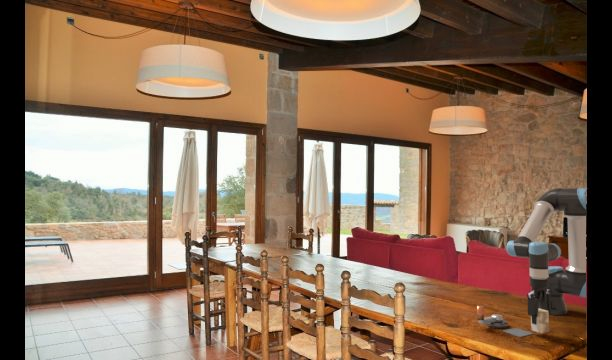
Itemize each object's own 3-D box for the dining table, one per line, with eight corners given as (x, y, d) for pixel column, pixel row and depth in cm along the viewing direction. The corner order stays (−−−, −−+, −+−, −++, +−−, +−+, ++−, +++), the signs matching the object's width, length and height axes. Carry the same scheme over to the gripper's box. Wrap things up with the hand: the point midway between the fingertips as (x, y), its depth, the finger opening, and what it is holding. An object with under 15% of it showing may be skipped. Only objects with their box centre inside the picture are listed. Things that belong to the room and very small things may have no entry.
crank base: (495, 321, 215) (495, 317, 215) (511, 326, 207) (511, 322, 207) (482, 324, 211) (482, 320, 211) (498, 329, 203) (498, 325, 203)
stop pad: (515, 328, 205) (515, 327, 205) (533, 334, 197) (533, 333, 197) (502, 331, 201) (502, 330, 201) (519, 337, 193) (519, 336, 193)
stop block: (538, 328, 199) (538, 308, 199) (548, 331, 194) (548, 310, 194) (531, 330, 197) (530, 309, 197) (541, 333, 192) (541, 312, 192)
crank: (496, 318, 212) (496, 301, 212) (505, 321, 208) (505, 304, 208) (473, 323, 206) (473, 305, 206) (482, 326, 201) (482, 308, 201)
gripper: (544, 273, 203) (545, 323, 203) (517, 278, 195) (518, 330, 195) (560, 276, 196) (561, 328, 196) (533, 281, 188) (534, 336, 188)
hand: (539, 329), depth 196 cm, fingers closed on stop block, 5 cm apart
